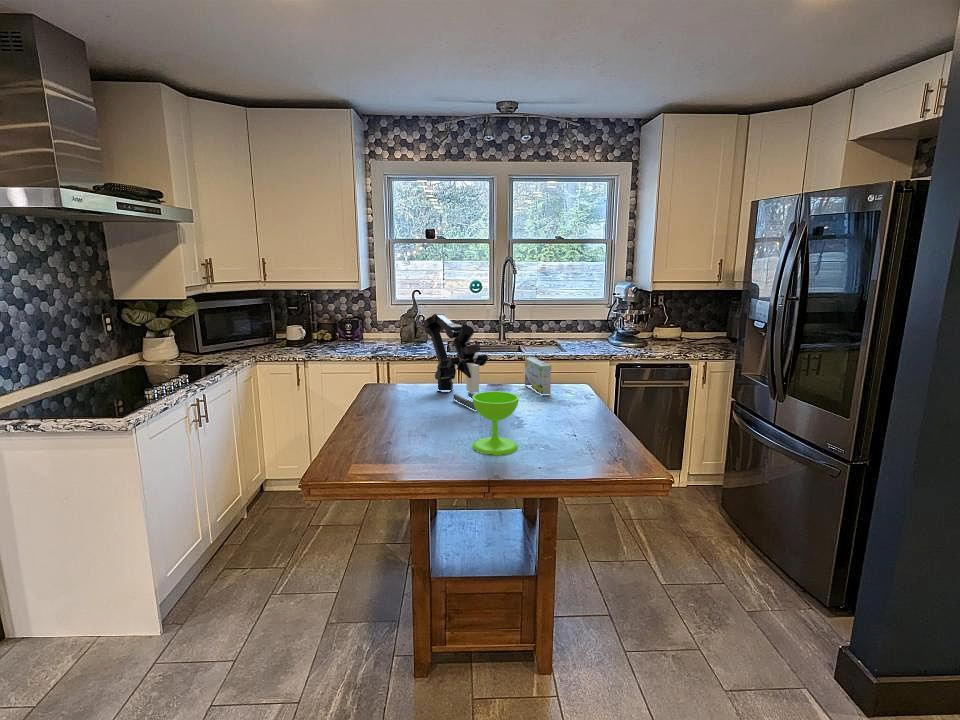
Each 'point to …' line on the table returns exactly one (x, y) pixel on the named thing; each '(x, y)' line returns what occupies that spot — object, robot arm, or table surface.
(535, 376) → the snack box
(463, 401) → the bottom track
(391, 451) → the table surface
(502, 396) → the wineglass
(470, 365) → the cream rectangular block
